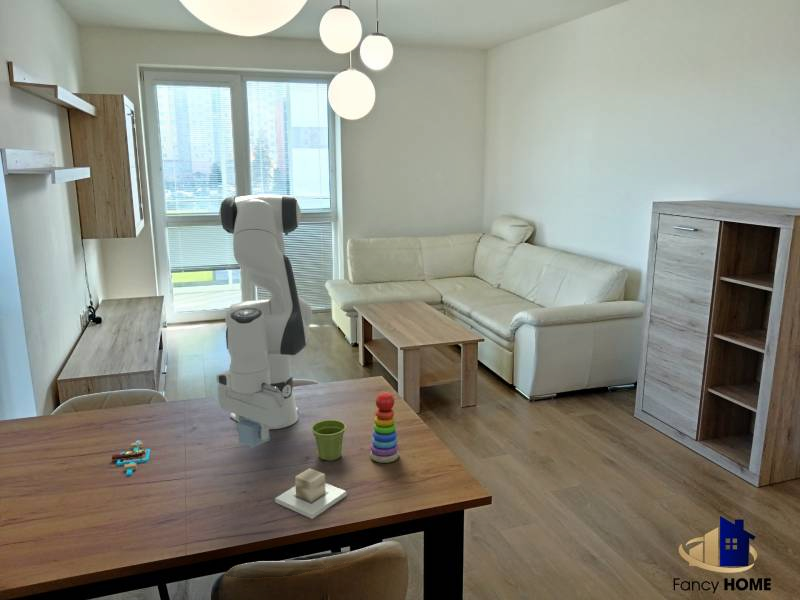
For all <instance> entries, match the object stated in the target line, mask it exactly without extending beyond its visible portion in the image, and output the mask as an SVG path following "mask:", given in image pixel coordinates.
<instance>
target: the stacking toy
mask: <svg viewBox="0 0 800 600" xmlns="http://www.w3.org/2000/svg"><path fill="white" fill-rule="evenodd" d="M375 405H376V408H377V410H376V412H375V418H374V423H375V424H374V425H373V433H372V436H373V437H372V440H371V445H370V453H369V457H370V458H371V460H373V461H374V462H376V463H381V464H388V463H389V464H390V463H392V462H394V461H396V460H398V458H399V456H400V452H399V450H398V449H399V446H398V437H397V431H396V429H397V426H396V423H395V422H396V419H395V417H394V416H395V411H394V409H393V408H394V405H395V397H394V396H393V394H391V393H389V392H387V391H385V392H380V393H378V395H377V396H376V398H375Z"/></svg>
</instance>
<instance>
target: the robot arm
mask: <svg viewBox="0 0 800 600" xmlns="http://www.w3.org/2000/svg"><path fill="white" fill-rule="evenodd" d="M301 211H302V210H301V207H300V205H299V202H298V201H297V198H296V197H294V196H292V195H288V194H282V195H280V194H271V193H270V194H269V193H267V194H266V193H260V194H251V195H241V196H236V195H233V196H228V197H226V198H224V199H223V201H221V205H220V207H219V213H218V215H219V222H220V224H221V226H222V229H223V230H224V231H225V232H226V233H228V234H232V235H233V241H232V243H233V244H232V246H233V256H234V259H235V261H236V263H237V264H238V265H239V266H240V267H241V268H242V269H244V270H245V271H247V274H248V275H247V276H248V281H250V283H251V284H252V285H253V286H255V287H256V288H259V289H261V290H264V291H266V292H268V293H269V294H270V296H271V297H270V298H267V299H256V300H245V301H240V302H236V303H234V304H231V305H230V306H229V308H228V309H227V311H226V313H225V319H224V320H225V321H224V322H225V325H226V331H225V340H226V341H225V343H226V349H227V350H228V355H229V357H230V364H229V369H228V370H226V371H223V372H220V373H218V374H216V376H215V377H216V378H215V379H216V382H217V384H218V385H217V399H218V404H219V407H220V408H221V410H223V411H226V412H228V413H230V415H229V416H230V418H231V419H233V420H235V421H236V422H237V423H238V422H240V421H242V420H245V419H247V418H248V419H251V420H254V421H256V422H259V423H260V426H261V427H262V429H261V431H259V432H258V435H259V436H258V438H260V439H263V440H264V439H267V438H268V430H269V431H270V430H278V429H283V428H286V427H287V428H288V427H290V426H292V425H294V424H296V423H297V422H298V421H299V414H298V413H299V408H298V407H297V403H296V398H295V392H294V379H293V375H292V369H291V368H292V367H291V356H296V355H297V354H299V353H300V352H301V351H303V349H305V347H306V346H307V342H308V328H309V327H310V326H311V324H312V321H313V309H312V307H311V305H310V303H309V302H308V301H307V300H305V299H304V298H302V297H301V296H300V295H299V293H298V288H297V284H296V277H295V276H294V271H293V266H292V264H291V261H290V258H289V257H288V255H286V251H285V241H284V240H285V239H284V235H285V236H288V235H289V233H293V232H294V231H296V230H297V229H298V227H299V225H300V222H301V218H302V217H301V216H302V213H301ZM283 233H284V235H283Z"/></svg>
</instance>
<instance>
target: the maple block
mask: <svg viewBox="0 0 800 600" xmlns="http://www.w3.org/2000/svg"><path fill="white" fill-rule="evenodd" d="M294 479H295V480H294V482H295V483H294V484H295V486H296V496H298V497H301V498H303V499H305V500H308V501H310V502H312V501H314V500H315V499H317V498H318V497H320V496H321V495H323V494H324V493H326V491H325V483H326V473H323V472H321V471H318V470H315V469H314V468H310V467H309V468H307V469H305V470H304V471H302V472H300V473H299V474H297V475H296V476H294Z"/></svg>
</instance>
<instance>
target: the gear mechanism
mask: <svg viewBox="0 0 800 600" xmlns="http://www.w3.org/2000/svg"><path fill="white" fill-rule="evenodd" d="M143 447H144V446H143V441H142V440H136V441H135V442H132V443H131V444H130V449H131V450H129V451H128V450H126V451H123V452H119V454H113V455H112V456H111V460H112V461H113V460H117V461H116V465H117V466H123V468H124V472H126V473H125V474H126V475H125V477H128V476H132V475H133V471H136V470H137V468H138V465H137V464H140V463H141V464H142V463H147V462H149V459H150V455H151V449H150V448H149V449H148V448H147V449H145V448H143ZM143 455H144V456H143Z"/></svg>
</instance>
